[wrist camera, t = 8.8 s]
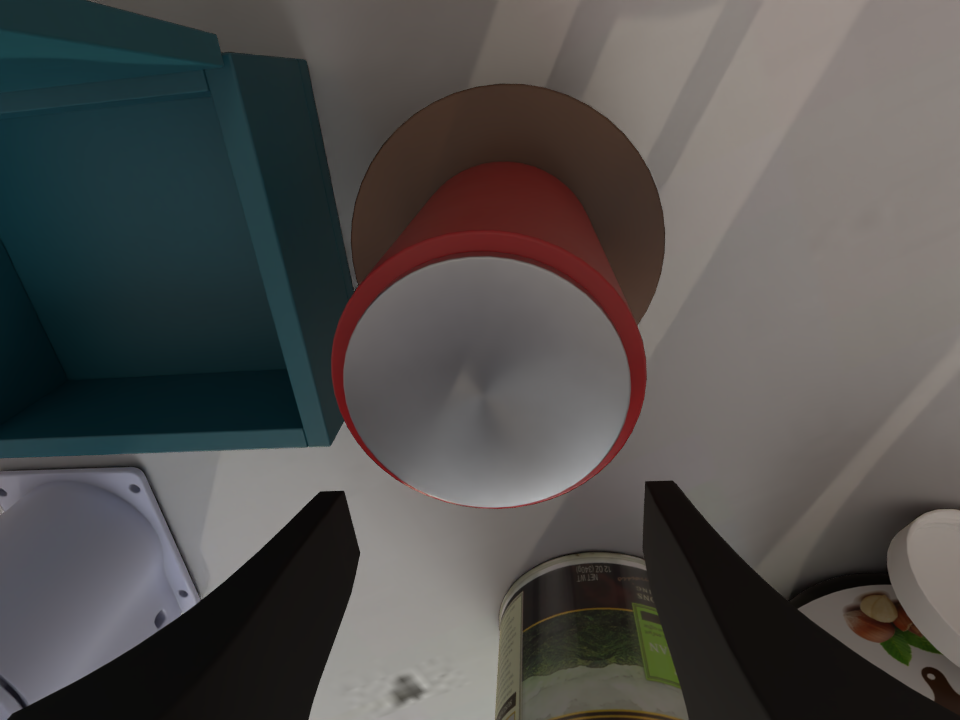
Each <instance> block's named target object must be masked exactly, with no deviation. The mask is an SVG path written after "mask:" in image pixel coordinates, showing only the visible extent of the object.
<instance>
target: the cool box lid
mask: <svg viewBox="0 0 960 720" xmlns="http://www.w3.org/2000/svg"><path fill="white" fill-rule="evenodd" d="M223 66H224V63H223V59H222V55H221V51H220V47H219V42H218V38H217V36H216V34H213V33H209V32H205V31H201V30H197V29H194V28H190V27H186V26H182V25H178V24H175V23H171V22H167V21H163V20H159V19H155V18H152V17H148V16H144V15H140V14H136V13H133V12H129V11H125V10H121V9H117V8H113V7H110V6H106V5H102V4H98V3H94V2H91V1H87V0H0V93H3V92H12V91H20V90H29V89H38V88H47V87H56V86H64V85H73V84H82V83H91V82H100V81H108V80H117V79H126V78H135V77H143V76H152V75H161V74H170V73H179V72H187V71H196V70H205V69H214V68H222V67H223Z"/></svg>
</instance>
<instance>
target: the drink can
mask: <svg viewBox="0 0 960 720" xmlns="http://www.w3.org/2000/svg"><path fill="white" fill-rule="evenodd" d="M331 376H332V382H333V388H334V394H335V397H336V400H337V403H338V407H339V410H340V412H341V414H342V417H343V419H344V421H345V423H346V425H347V427H348V429H349V430H350V432H351V434H352V435H353V437H354V438H355V440H356V441H357V443H358V444H359V445H360V446H361V448H362V449H363V450H364V451H365V452H366V454H367V455H368V456H369V457H370V458H371V459H372V460H373V461H374V462H375V463H376V464H377V465H378V466H379V467H381V468H382V469H383V470H384V471H386V472H387V473H388V474H390V475H391V476H392V477H393V478H395V479H396V480H398V481H400V482H401V483H403V484H405V485H406V486H408V487H410V488H411V489H414V490H416V491H418V492H420V493H422V494H424V495H426V496H429V497H432V498H435V499H438V500H441V501H444V502H447V503H452V504H456V505H460V506H466V507H474V508H488V509H502V508H516V507H522V506H527V505H533V504H537V503H540V502H543V501H547V500H550V499H553V498H555V497H558V496H560V495H563V494H565V493H568V492H569V491H571V490H573V489H575V488H577V487H578V486H580V485H582V484H584V483H585V482H587V481H588V480H589V479H591V478H592V477H593V476H595V475H596V474H598V473H599V472H600V471H601V470H602V469H603V468H604V467H605V466H606V465H607V464H608V463H610V462H611V461H612V459H613V458H614V457H615V456H616V455H617V453H618V452H619V451H620V450H621V449H622V447H623V446H624V444H625V443H626V441H627V439H628V438H629V436H630V434H631V433H632V431H633V429H634V427H635V424H636V422H637V420H638V417H639V415H640V412H641V408H642V405H643V401H644V397H645V389H646V381H647V370H646V356H645V351H644V346H643V341H642V338H641V335H640V332H639V329H638V326H637V324H636V321H635V319H634V317H633V315H632V312H631V310H630V308H629V306H628V303H627V301H626V299H625V297H624V295H623V292H622V290H621V288H620V286H619V284H618V281H617V279H616V277H615V275H614V273H613V270H612V268H611V266H610V264H609V262H608V259H607V257H606V255H605V253H604V251H603V248H602V246H601V244H600V242H599V240H598V237H597V235H596V233H595V231H594V229H593V226H592V224H591V222H590V220H589V218H588V215H587V213H586V212H585V210H584V208H583V206H582V204H581V203H580V201H579V200H578V199H577V197H576V196H575V194H574V193H573V192H572V191H571V190H570V189H569V188H568V187H567V186H566V185H565V184H564V183H562V182H561V181H560V180H558V179H557V178H556V177H554V176H553V175H551V174H549V173H547V172H546V171H544V170H541V169H539V168H536V167H534V166H530V165H527V164H523V163H516V162H491V163H485V164H481V165H478V166H474V167H471V168H469V169H467V170H464V171H462V172H460V173H458V174H457V175H455V176H454V177H452V178H451V179H449V180H448V181H447V182H446V183H444V184H443V185H442V186H441V187H440V188H439V189H438V190H437V191H436V192H435V193H434V194H433V196H432V197H431V198H430V199H429V200H428V202H427V203H426V204H425V205H424V207H423V208H422V209H421V210H420V211H419V213H418V214H417V215H416V216H415V218H414V219H413V220H412V221H411V222H410V224H409V225H408V226H407V227H406V229H405V230H404V231H403V232H402V233H401V235H400V236H399V237H398V238H397V240H396V241H395V242H394V243H393V244H392V246H391V247H390V248H389V249H388V251H387V252H386V253H385V254H384V255H383V257H382V258H381V259H380V260H379V262H378V263H377V264H376V265H375V266H374V268H373V269H372V270H371V271H370V273H369V274H368V275H367V276H366V278H365V279H364V280H363V281H362V282H361V284H360V285H359V286H358V287H357V289H356V290H355V292H354V293H353V295H352V296H351V298H350V299H349V301H348V302H347V304H346V306H345V308H344V310H343V313H342V315H341V317H340V319H339V321H338V325H337V328H336V332H335V335H334V339H333V346H332V354H331Z"/></svg>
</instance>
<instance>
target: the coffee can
mask: <svg viewBox="0 0 960 720" xmlns="http://www.w3.org/2000/svg"><path fill="white" fill-rule="evenodd" d="M499 630H500V641H499V657H498V675H497V692H496V710H495V720H689V718H688V713H687V709H686V705H685V701H684V697H683V694H682V690H681V686H680V683H679V680H678V677H677V673H676V670H675V667H674V664H673V661H672V658H671V654H670V651H669V648H668V645H667V642H666V638H665V635H664V632H663V629H662V626H661V623H660V619H659V616H658V613H657V610H656V606H655V603H654V600H653V597H652V593H651V590H650V585H649V580H648V575H647V570H646V564H645V560H644V559H641V558H638V557H634V556H630V555H625V554H620V553H610V552H586V553H578V554H573V555H567V556H562V557H558V558H555V559H552V560H549V561H547V562H545V563H543V564H540V565H538V566H536V567H535V568H533V569H531V570H530V571H528V572H527V573H526V574H524V575H523V576H521V577H520V578H519V579H518V580H517V581H516V582H515V583H514V584H513V586H512V587H511V588H510V589H509V591H508V592H507V594H506V596H505V598H504V600H503V602H502V605H501V609H500V614H499Z"/></svg>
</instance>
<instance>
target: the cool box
mask: <svg viewBox="0 0 960 720" xmlns="http://www.w3.org/2000/svg"><path fill="white" fill-rule="evenodd" d="M221 55H222V59H223V63H224V66H223V67H222V68H214V69H205V70H196V71H187V72H179V73H170V74H161V75H152V76H143V77H135V78H126V79H117V80H108V81H100V82H91V83H82V84H73V85H64V86H56V87H47V88H38V89H29V90H20V91H12V92H3V93H0V458H24V457H52V456H81V455H109V454H137V453H166V452H194V451H222V450H251V449H279V448H306V447H308V446H309V447H329V446H331V444H332V443H333V441H334V439H335V437H336V435H337V433H338V431H339V430H340V428H341V426H342V424H343V422H344V419H343V417H342V414H341V412H340V410H339V407H338V403H337V400H336V397H335V394H334V388H333V382H332V376H331V354H332V346H333V339H334V335H335V332H336V328H337V325H338V321H339V319H340V317H341V315H342V313H343V310H344V308H345V306H346V304H347V302H348V301H349V299H350V298H351V296H352V295H353V293H354V292H353V287H352V282H351V277H350V272H349V268H348V263H347V258H346V253H345V248H344V243H343V238H342V233H341V228H340V223H339V219H338V214H337V209H336V204H335V199H334V194H333V189H332V184H331V179H330V174H329V170H328V165H327V160H326V155H325V150H324V145H323V140H322V135H321V130H320V125H319V120H318V116H317V111H316V106H315V101H314V96H313V91H312V86H311V81H310V76H309V71H308V67H307V62H306V60H304V59H295V58H284V57H274V56H264V55H253V54H243V53H232V52H225V53H221Z"/></svg>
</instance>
